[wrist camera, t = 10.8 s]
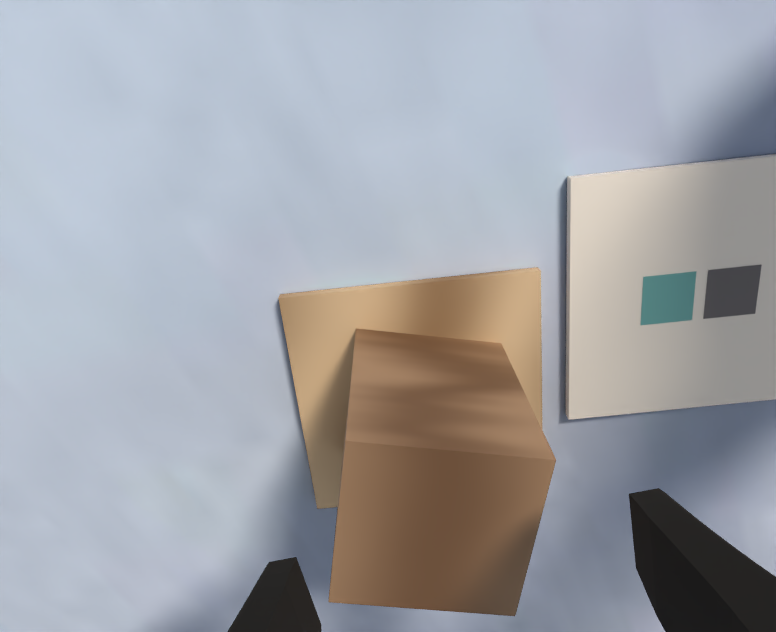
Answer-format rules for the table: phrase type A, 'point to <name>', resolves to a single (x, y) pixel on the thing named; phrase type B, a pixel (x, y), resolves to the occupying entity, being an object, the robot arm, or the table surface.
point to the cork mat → (401, 315)
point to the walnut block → (437, 477)
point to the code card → (671, 287)
